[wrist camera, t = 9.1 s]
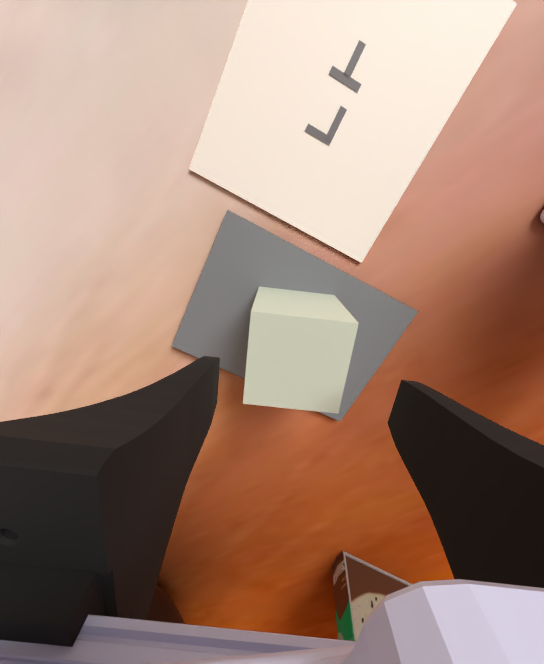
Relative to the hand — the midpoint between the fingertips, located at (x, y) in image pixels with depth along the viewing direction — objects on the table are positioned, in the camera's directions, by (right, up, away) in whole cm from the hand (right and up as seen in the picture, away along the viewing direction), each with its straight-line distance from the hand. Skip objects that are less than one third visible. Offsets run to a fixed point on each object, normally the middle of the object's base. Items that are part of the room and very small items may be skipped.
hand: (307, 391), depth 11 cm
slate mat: (0, +3, +9) cm, 9 cm away
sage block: (0, +3, +8) cm, 9 cm away
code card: (+2, +15, +4) cm, 16 cm away
